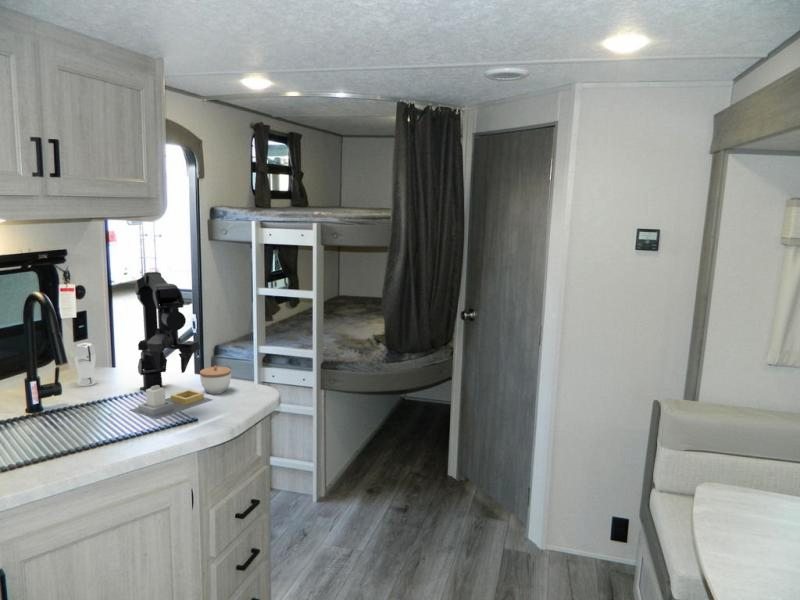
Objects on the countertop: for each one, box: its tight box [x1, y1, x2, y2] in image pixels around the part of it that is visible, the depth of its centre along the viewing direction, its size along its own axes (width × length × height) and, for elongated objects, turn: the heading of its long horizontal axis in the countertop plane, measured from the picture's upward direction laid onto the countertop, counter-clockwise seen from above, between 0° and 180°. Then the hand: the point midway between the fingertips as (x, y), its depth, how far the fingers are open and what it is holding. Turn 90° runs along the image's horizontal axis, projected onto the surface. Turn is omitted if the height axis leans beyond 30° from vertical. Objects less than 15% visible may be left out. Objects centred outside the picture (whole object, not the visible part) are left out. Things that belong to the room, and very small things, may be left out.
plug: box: [145, 385, 166, 408], centre depth 182 cm, size 4×4×8 cm
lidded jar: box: [199, 365, 232, 395], centre depth 205 cm, size 11×11×9 cm
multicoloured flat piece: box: [128, 389, 213, 420], centre depth 188 cm, size 14×22×3 cm, turn 149°
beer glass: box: [73, 342, 97, 387], centre depth 211 cm, size 7×7×15 cm
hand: (170, 371), depth 184 cm, fingers open, 9 cm apart
